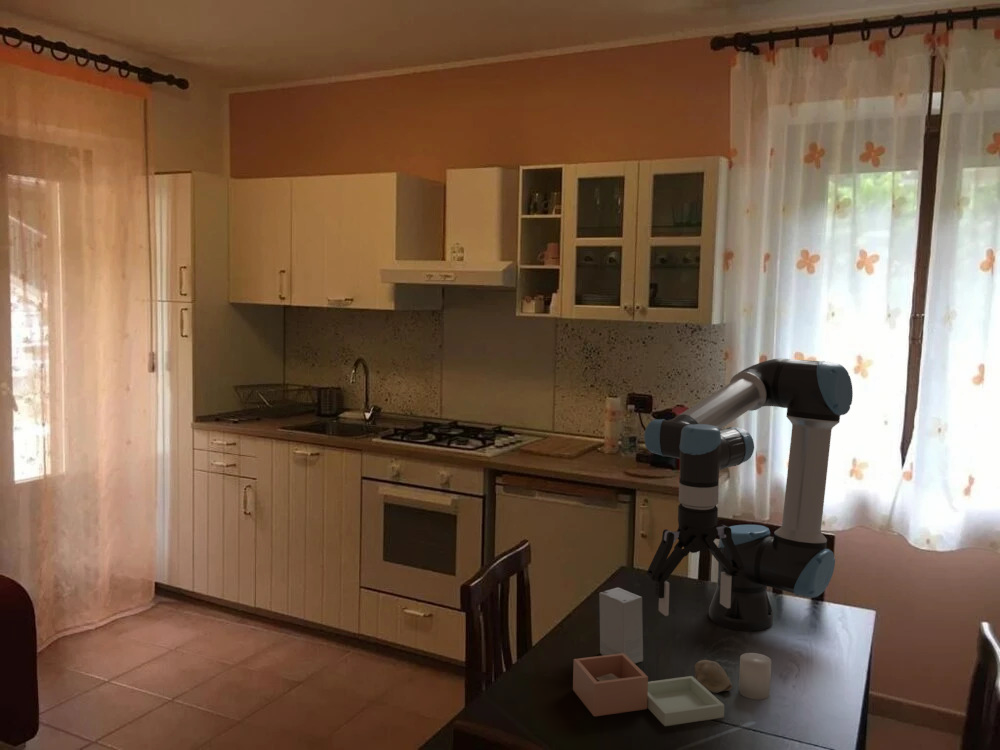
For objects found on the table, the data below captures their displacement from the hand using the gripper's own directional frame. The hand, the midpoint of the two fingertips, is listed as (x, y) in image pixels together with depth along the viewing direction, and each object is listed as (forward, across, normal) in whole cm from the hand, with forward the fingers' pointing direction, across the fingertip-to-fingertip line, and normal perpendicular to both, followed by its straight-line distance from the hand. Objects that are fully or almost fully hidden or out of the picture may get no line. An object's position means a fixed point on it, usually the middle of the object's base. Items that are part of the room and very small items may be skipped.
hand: (694, 609), depth 170 cm
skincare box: (+18, +7, -19) cm, 27 cm away
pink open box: (+18, +17, -2) cm, 25 cm away
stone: (+18, -6, -3) cm, 20 cm away
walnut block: (+17, +17, -2) cm, 24 cm away
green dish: (+18, +5, +4) cm, 19 cm away
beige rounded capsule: (+18, -13, +2) cm, 23 cm away
